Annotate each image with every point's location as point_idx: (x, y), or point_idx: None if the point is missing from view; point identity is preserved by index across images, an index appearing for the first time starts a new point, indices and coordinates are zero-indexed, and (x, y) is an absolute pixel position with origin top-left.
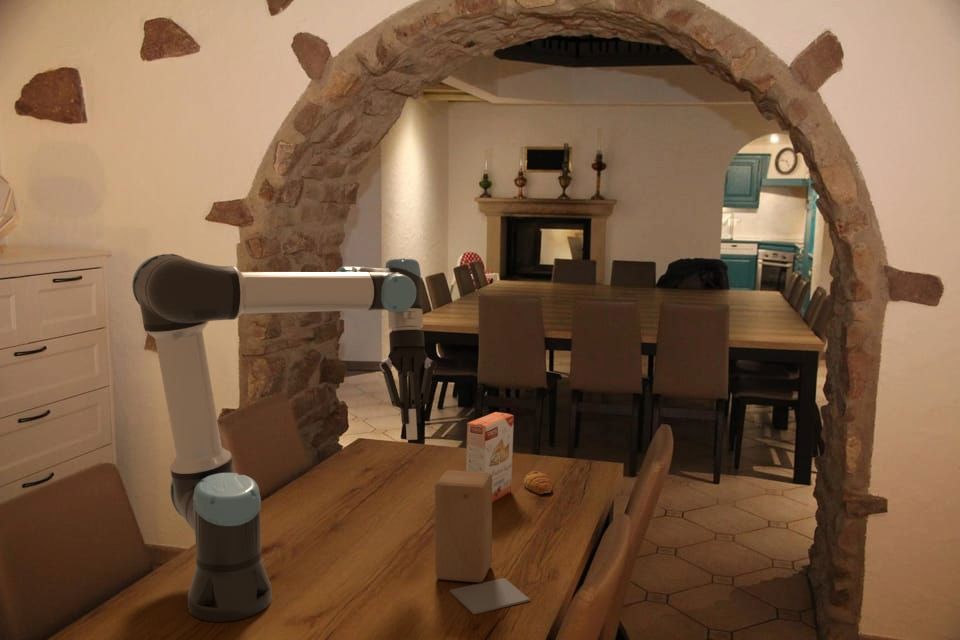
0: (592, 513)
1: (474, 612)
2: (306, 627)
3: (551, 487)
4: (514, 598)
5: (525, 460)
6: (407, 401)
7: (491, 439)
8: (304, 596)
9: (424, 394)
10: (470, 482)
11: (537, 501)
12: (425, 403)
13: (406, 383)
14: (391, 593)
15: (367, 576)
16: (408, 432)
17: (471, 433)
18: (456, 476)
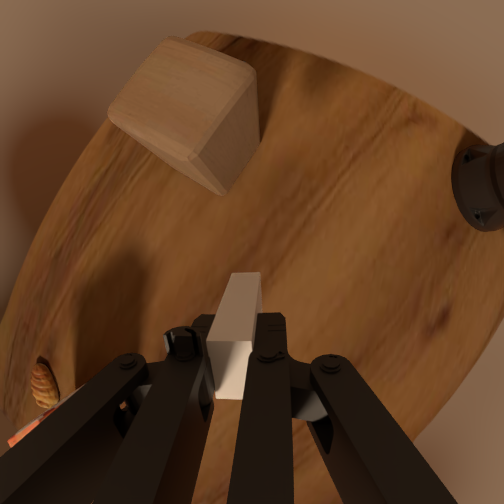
0: (17, 284)
1: (244, 61)
2: (419, 105)
3: (33, 366)
4: None
5: None
6: (256, 376)
7: (46, 411)
8: (422, 168)
9: (109, 396)
10: (178, 52)
11: (53, 349)
12: (132, 355)
13: (244, 499)
14: (326, 132)
15: (347, 189)
16: (260, 306)
17: None
18: (188, 93)
